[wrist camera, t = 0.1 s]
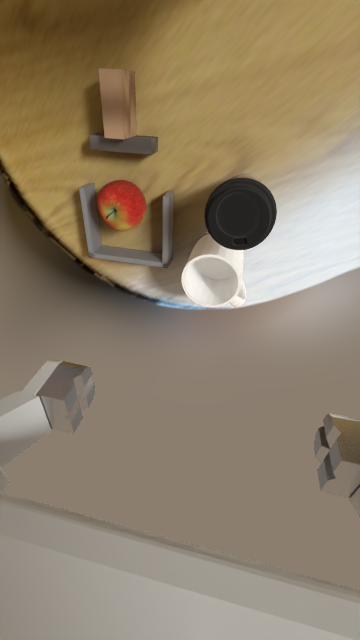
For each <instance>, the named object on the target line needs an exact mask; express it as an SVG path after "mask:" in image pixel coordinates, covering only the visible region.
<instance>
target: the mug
mask: <svg viewBox="0 0 360 640" xmlns="http://www.w3.org/2000/svg"><path fill="white" fill-rule="evenodd" d="M243 262H244V253H243V250H232V249H228V248H225V247H223V246H221V245H220V244H218V243H217V242H216V241H215V240H214V239H213V238H212V237H211V235H210V234H207V235H204V236H203V237H201V238H200V239H199V240H198V241H197V243H196V244H195V245H194V248H193V250H192V252H191V254H190V256H189V259H188V261H187V263H186V265H185V267H184V270H183V273H182V281H181V282H182V286H183V289H184V291H185V293H186V295H187V296H188V297H189V298H190V299H191V300H192V301H194V302H196V303H197V304H199V305H202V306H205V307H221V306H224V305H227V304H228V303H230V304H231V305H232V306H234V307H240V306H242V305H243V304H244V303H245V301H246V297H247V295H246V289H245V286H244V284H243V282H242V271H243Z"/></svg>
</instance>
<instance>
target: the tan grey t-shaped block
mask: <svg viewBox="0 0 360 640" xmlns="http://www.w3.org/2000/svg"><path fill="white" fill-rule="evenodd" d="M98 71H99V82H100V93H101V104H102V114H103V125H104V133H96V134H91V135H89V140H90V149H91V150H101V151H113V152H125V153H137V154H149V155H151V154H153V153H155V152H157V151H158V137H151V136H138V135H137V123H136V96H135V72H131V71H126V70H121V69H103V68H98Z"/></svg>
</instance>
